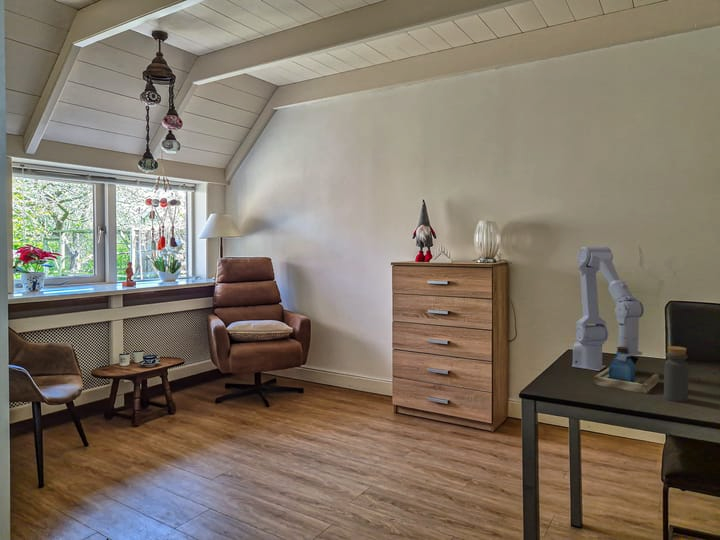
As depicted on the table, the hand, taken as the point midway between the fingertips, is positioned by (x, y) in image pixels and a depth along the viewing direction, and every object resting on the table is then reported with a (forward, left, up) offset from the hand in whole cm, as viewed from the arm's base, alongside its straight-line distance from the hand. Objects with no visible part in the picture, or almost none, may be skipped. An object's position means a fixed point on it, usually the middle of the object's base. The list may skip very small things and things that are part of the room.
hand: (627, 378), depth 161 cm
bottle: (+15, -10, -1) cm, 18 cm away
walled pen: (0, -1, -1) cm, 1 cm away
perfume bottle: (-1, -4, -1) cm, 5 cm away
